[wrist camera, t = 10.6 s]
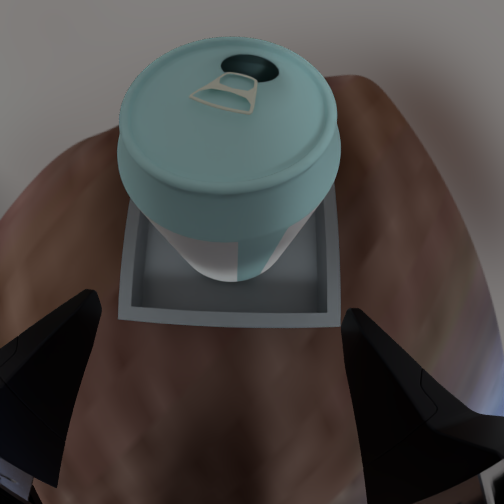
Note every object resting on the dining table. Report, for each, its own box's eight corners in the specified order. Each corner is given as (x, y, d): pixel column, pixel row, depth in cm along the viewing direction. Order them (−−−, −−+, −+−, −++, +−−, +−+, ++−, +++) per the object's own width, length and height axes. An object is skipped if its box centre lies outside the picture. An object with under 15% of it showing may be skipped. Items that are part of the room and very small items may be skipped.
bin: (324, 324, 18) (340, 326, 15) (135, 318, 17) (118, 319, 14) (317, 155, 21) (328, 133, 18) (155, 150, 20) (145, 128, 17)
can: (168, 192, 18) (103, 55, 7) (269, 168, 19) (303, 20, 7) (190, 295, 17) (101, 258, 5) (300, 266, 18) (404, 186, 6)
